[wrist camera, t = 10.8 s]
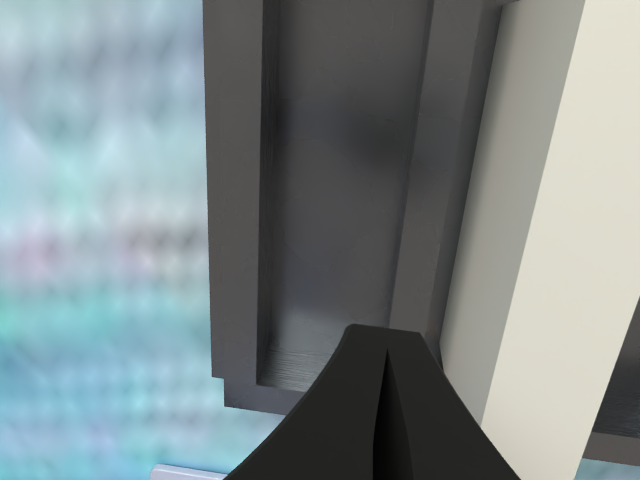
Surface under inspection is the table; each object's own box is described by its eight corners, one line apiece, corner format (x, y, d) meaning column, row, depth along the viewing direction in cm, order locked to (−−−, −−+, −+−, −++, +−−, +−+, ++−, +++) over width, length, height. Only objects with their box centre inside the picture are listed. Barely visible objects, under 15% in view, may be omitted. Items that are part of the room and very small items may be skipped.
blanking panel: (504, 351, 19) (562, 510, 13) (439, 343, 19) (463, 495, 13) (590, 10, 15) (748, -10, 8) (502, 4, 15) (590, -19, 8)
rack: (713, 430, 20) (780, 511, 17) (219, 363, 22) (187, 423, 19) (982, -125, 13) (1196, -183, 10) (210, -153, 15) (155, -210, 12)
